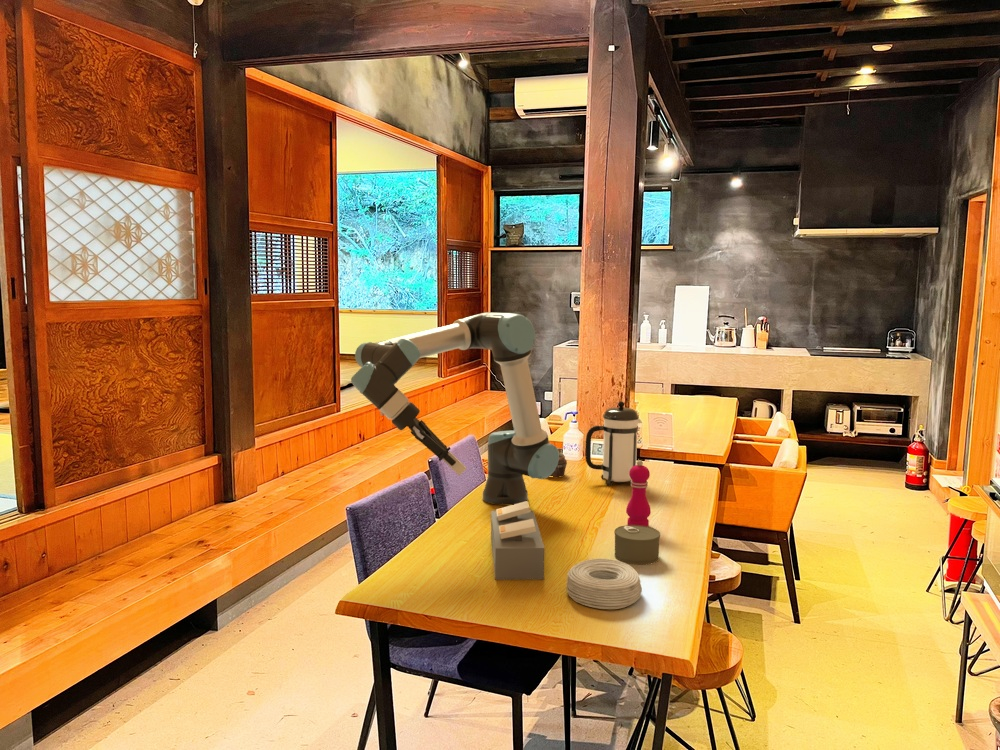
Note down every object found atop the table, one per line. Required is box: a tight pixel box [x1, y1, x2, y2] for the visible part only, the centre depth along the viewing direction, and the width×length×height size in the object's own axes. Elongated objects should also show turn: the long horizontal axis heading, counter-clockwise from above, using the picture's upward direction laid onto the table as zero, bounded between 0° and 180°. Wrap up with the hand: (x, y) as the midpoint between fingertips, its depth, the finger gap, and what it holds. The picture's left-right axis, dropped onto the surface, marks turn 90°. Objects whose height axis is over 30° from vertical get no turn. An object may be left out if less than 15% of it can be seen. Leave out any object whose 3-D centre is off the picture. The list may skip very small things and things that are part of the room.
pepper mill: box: [625, 460, 652, 527], centre depth 223 cm, size 7×7×20 cm
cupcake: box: [550, 448, 568, 478], centre depth 282 cm, size 10×10×10 cm
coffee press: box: [585, 400, 643, 487], centre depth 270 cm, size 17×16×30 cm
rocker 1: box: [495, 500, 531, 521], centre depth 204 cm, size 6×9×2 cm, turn 93°
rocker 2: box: [499, 519, 536, 539], centre depth 189 cm, size 6×9×2 cm, turn 93°
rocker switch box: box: [490, 510, 546, 581], centre depth 200 cm, size 36×12×9 cm, turn 3°
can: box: [614, 524, 661, 566], centre depth 198 cm, size 12×12×7 cm
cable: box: [566, 557, 643, 610], centre depth 174 cm, size 18×18×6 cm
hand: (462, 471), depth 202 cm, fingers closed
